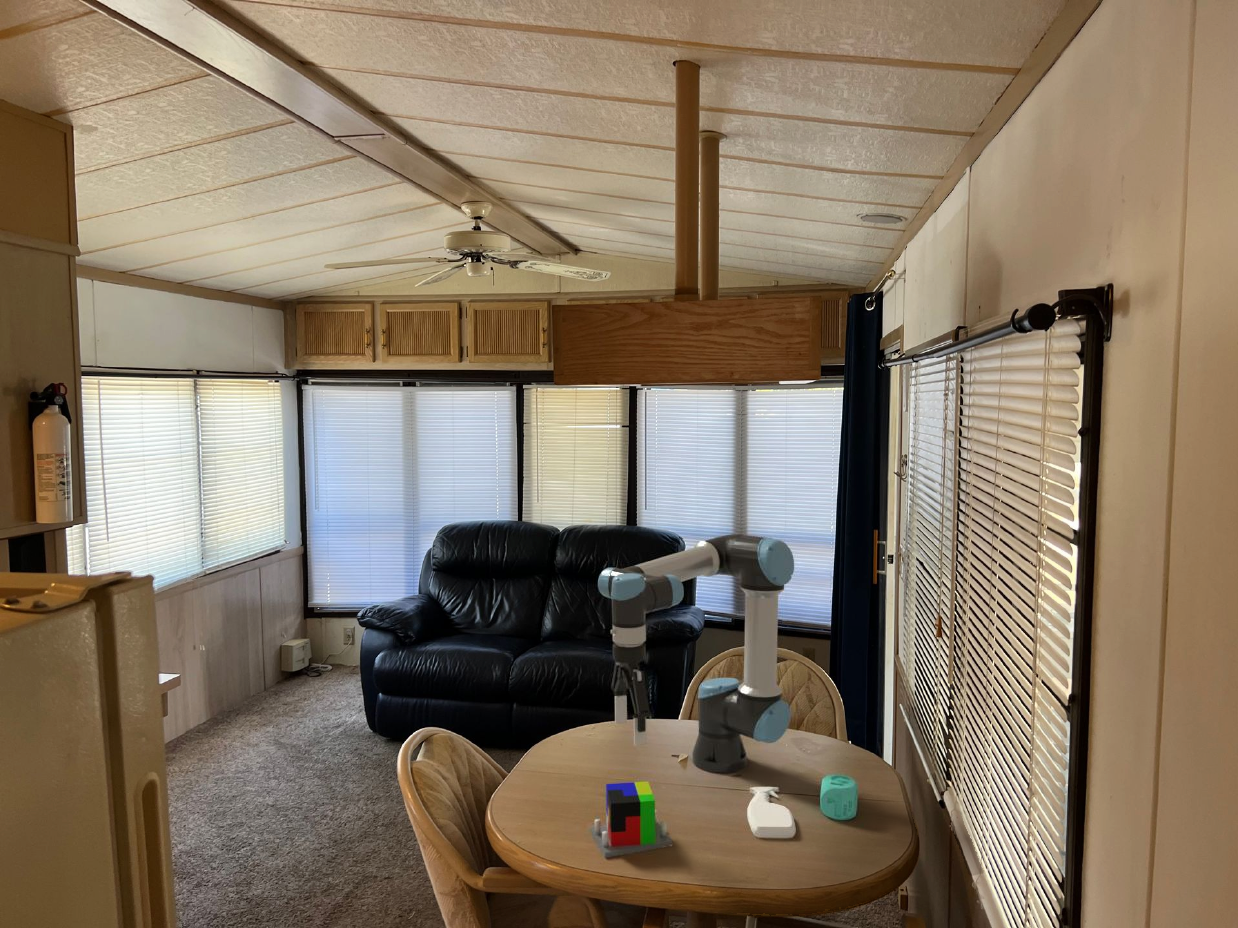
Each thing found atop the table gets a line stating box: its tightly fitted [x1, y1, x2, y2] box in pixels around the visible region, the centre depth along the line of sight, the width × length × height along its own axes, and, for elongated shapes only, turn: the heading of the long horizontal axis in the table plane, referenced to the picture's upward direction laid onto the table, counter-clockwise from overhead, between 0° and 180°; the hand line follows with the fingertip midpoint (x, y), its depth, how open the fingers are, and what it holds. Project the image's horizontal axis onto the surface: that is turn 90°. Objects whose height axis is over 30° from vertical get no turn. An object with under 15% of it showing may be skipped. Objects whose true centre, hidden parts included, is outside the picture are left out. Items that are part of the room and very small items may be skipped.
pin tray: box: [589, 809, 673, 859], centre depth 200 cm, size 16×12×4 cm
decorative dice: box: [819, 773, 859, 821], centre depth 212 cm, size 8×8×8 cm
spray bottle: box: [746, 786, 797, 839], centre depth 212 cm, size 3×11×24 cm
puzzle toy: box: [605, 781, 656, 847], centre depth 199 cm, size 10×10×10 cm
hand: (630, 733), depth 198 cm, fingers open, 13 cm apart
